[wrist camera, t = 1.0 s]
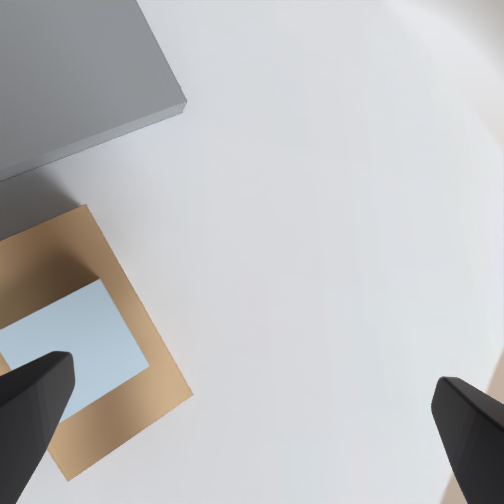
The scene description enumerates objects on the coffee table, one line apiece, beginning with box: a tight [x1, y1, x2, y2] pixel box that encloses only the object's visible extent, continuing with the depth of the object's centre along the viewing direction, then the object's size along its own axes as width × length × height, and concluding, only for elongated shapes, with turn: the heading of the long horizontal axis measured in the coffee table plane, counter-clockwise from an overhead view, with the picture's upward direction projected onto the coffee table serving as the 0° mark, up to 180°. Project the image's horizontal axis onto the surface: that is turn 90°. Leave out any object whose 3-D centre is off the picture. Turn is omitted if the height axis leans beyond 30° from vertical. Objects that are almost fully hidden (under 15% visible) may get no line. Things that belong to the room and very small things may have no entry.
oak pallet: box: [0, 204, 194, 482], centre depth 17 cm, size 6×10×3 cm, turn 28°
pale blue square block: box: [0, 279, 149, 423], centre depth 15 cm, size 4×4×2 cm
